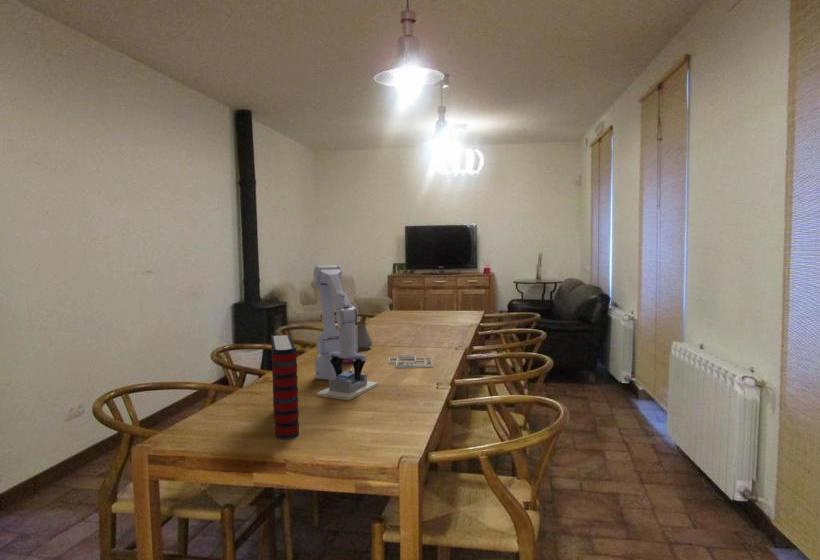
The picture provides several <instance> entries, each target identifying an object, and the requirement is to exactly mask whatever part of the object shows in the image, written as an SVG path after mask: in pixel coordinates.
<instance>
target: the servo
mask: <svg viewBox="0 0 820 560" xmlns="http://www.w3.org/2000/svg"><path fill="white" fill-rule="evenodd" d="M335 379H336V380H343V381H346V380H350V381H352V384H353V383H356V382H358V380H357V381H356V380H355V373H354V369H349V370H347V371H344V372H342V374H339V375H338V377H336V378H335Z"/></svg>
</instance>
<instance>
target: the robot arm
mask: <svg viewBox="0 0 820 560" xmlns="http://www.w3.org/2000/svg"><path fill="white" fill-rule="evenodd" d="M342 276H343V270H342V267H341V265H339V264H333V265H316V266H315V267H314V268H313V282H314V288H317V289H318V290H319V295H320V296H319V297H320V309H321V317H322V319H321V320H322V327H323V330H322V332H320V333H319V334H318V335H317V338H316V341H317V342H316V350H317V353H318V355H316V358H315V376H314V379H318V380H327V381H329V379H331V378H334V379H335V378H336V377H338V375H339V374H342V373H343V370H342V369H343V363H344V362H343V358H344V359H353V360H356V361H353V362H352V363H351V364H352V367H353V371H354V373H355V380H356V381H357V380H359V379H360V375H361V373H362V370H363V367H364V366H365V363H366V361H367V354H364V353H359V352H358V353H356V346H355V323H356V322H358V319H359V318H358V311H357V308H356V307H355V306H354V305H352V304H351V302H350V299H349V296H348V294H347V293H346V292H344V291H343V287H342V283H341V280H342ZM335 311H336V314H335ZM335 324H338V329H339V331H337V330H336V326H335ZM331 337H336V338H331Z"/></svg>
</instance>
